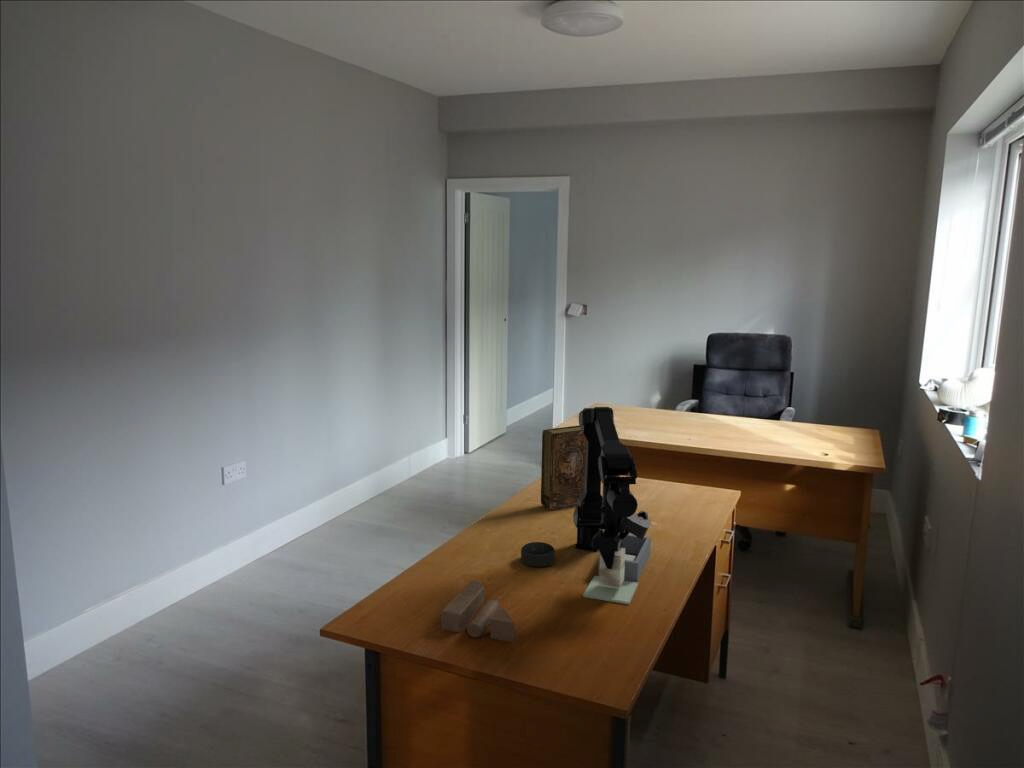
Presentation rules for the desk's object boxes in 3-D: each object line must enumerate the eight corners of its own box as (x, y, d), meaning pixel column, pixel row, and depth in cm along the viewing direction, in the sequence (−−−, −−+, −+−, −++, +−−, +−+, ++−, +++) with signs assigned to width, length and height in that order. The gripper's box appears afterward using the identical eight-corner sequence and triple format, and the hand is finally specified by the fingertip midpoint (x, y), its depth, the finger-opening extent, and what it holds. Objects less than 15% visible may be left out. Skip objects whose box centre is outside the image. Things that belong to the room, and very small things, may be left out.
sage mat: (583, 596, 182) (583, 594, 182) (594, 578, 192) (594, 575, 192) (628, 604, 178) (629, 602, 178) (638, 585, 188) (638, 582, 188)
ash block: (599, 584, 183) (600, 553, 181) (604, 576, 188) (605, 545, 186) (619, 587, 181) (620, 556, 180) (624, 579, 186) (625, 548, 184)
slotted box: (597, 575, 193) (598, 557, 192) (613, 549, 210) (614, 532, 209) (637, 582, 190) (638, 563, 189) (650, 554, 206) (651, 537, 205)
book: (584, 498, 251) (586, 424, 246) (593, 503, 246) (595, 428, 241) (540, 505, 243) (542, 429, 239) (549, 511, 239) (550, 433, 234)
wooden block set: (438, 608, 164) (470, 574, 181) (438, 633, 165) (470, 597, 182) (513, 621, 159) (538, 585, 175) (513, 646, 160) (538, 608, 176)
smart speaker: (514, 561, 201) (514, 547, 201) (536, 552, 208) (536, 538, 207) (539, 572, 195) (539, 557, 195) (561, 561, 202) (561, 547, 201)
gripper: (640, 520, 169) (637, 586, 172) (655, 494, 187) (652, 554, 189) (591, 513, 173) (589, 578, 176) (610, 489, 190) (608, 548, 193)
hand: (612, 564), depth 184 cm, fingers closed on ash block, 5 cm apart
